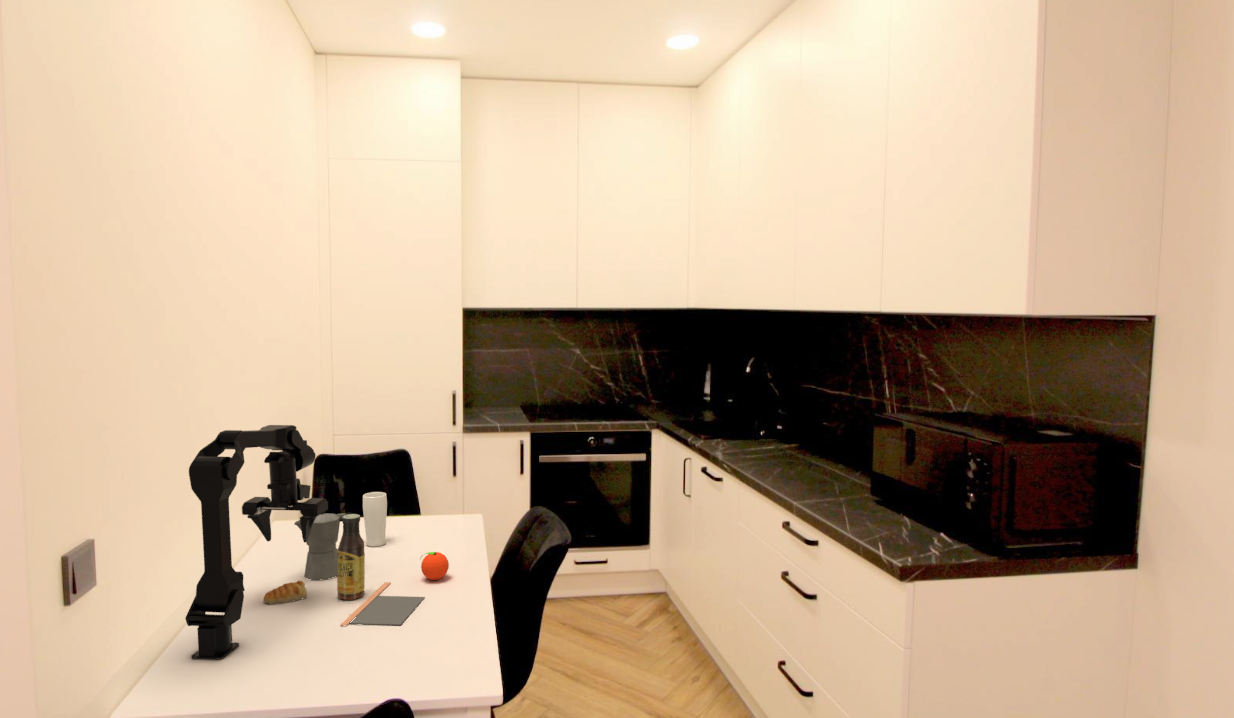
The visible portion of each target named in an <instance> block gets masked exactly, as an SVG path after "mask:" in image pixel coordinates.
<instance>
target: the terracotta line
mask: <svg viewBox="0 0 1234 718" xmlns="http://www.w3.org/2000/svg"><path fill="white" fill-rule="evenodd" d="M391 583H392V582H389V581H388V582H384V583H383V584H381V585H380V586H379V587H378V588H377V589H376V590H375V591H374V592H373V593H372V594H371V595H369V597H368V598H367V599H366V600H364V602H362V603H361V604H360V605H359V606H358V607H357V608H356V609H355V610H354V611H353V612H352V613H351V614H350V615H349V616H348V617H347V618H346V619H344V621H343V622H341V623H340V625H348V624H349V623H350V622H351V621H352V620H353V619H354V618H355V617H357V616H358V615H359V614H360V613H361V612H362V611H363V610H364V609H365V608H366V607H367V606H368V605H369V604H370V603H371V602H372V601H373V600H374V599H375V598H376V597H377V596H381V594H382V593H383V592H384V591H385V590H386V589H387V588H388V587H389V586H390V585H391ZM349 625H350V624H349ZM349 625H348V626H349Z"/></svg>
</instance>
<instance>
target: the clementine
mask: <svg viewBox="0 0 1234 718" xmlns="http://www.w3.org/2000/svg"><path fill="white" fill-rule="evenodd" d="M425 555H426V556H424V554H422V555H421V556H420V558H419V560H421V559H422V557H423V556H424V558H423V559H422V561H421V564H420V568H421V572H422V575H423V576H424V577H425V578H427V579H428V580H432V581H437V580H441V579H442V578H443V577H446V576H445V575H447V573H448V571H449V567H450V564H449V560H448V558H447V556H446V555H445V554H443V553H442V552H440V551H439V552H438V551H428V552H426V553H425Z"/></svg>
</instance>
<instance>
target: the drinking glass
mask: <svg viewBox="0 0 1234 718" xmlns="http://www.w3.org/2000/svg"><path fill="white" fill-rule="evenodd" d="M387 510H388V498H387V493H386V492H383V491H371V492H367V493H364V494H363V495H362V512H363V521H364V529H365V530H364V531H365V538H366V539H365V540H366V542H365V543H366V546H368V547H371V548H374V547H375V548H376V547H382V546H384V545H385V544H386V533H387V532H386V528H387V514H388V513H387V512H388V511H387Z"/></svg>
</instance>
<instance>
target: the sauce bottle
mask: <svg viewBox="0 0 1234 718" xmlns="http://www.w3.org/2000/svg"><path fill="white" fill-rule="evenodd" d="M360 521H361V515H360V514H357V513H352V514H348V515H344V516H343V518H342V521H341V522H342V535H341V539H340V542H339V545H338V548H337V549H338V551H337V581H336V583H337V585H336V587H337V588H336V590H337V597H338V598H339V599H340V600H343V599H344V600H346V601H353V600H356V599H359V598H361V597H363V596H364V595H365V588H366V587H365V583H366V582H365V580H366V579H365V575H366V572H365V569H366V568H365V555H366V553H365V541H364V539H363V538H362V536H361V534H360V533H361V532H360Z"/></svg>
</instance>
